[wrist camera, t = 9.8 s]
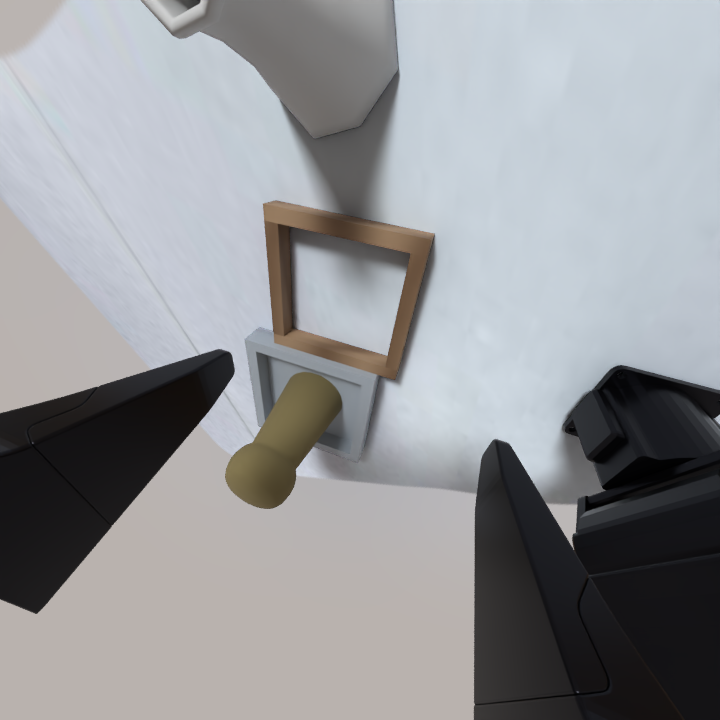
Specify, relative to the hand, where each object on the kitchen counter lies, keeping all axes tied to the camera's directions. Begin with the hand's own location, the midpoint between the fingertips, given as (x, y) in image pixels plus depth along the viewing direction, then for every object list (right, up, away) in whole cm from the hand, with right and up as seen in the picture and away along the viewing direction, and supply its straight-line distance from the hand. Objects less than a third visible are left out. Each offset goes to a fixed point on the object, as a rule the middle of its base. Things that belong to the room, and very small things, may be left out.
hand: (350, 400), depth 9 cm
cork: (-4, -2, +20) cm, 20 cm away
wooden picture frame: (-1, +6, +13) cm, 14 cm away
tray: (-4, -2, +20) cm, 21 cm away
